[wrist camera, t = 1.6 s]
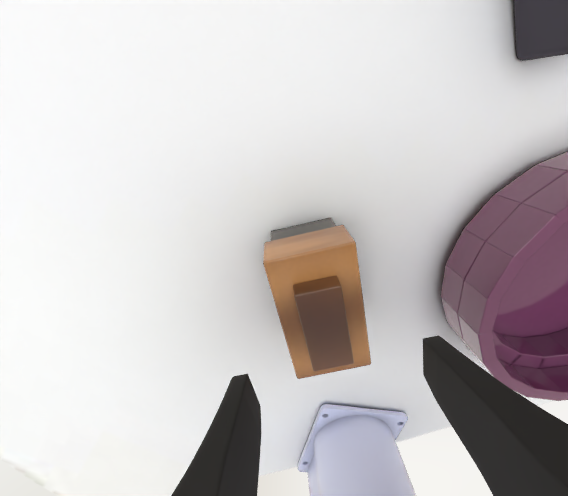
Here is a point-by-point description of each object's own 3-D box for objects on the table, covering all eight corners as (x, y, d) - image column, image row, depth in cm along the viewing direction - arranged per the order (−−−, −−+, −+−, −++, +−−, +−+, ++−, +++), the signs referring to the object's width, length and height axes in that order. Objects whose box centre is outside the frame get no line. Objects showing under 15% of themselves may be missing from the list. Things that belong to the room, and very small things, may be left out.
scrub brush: (351, 314, 20) (377, 379, 15) (292, 326, 21) (298, 395, 15) (335, 211, 17) (362, 251, 12) (264, 227, 17) (261, 273, 12)
